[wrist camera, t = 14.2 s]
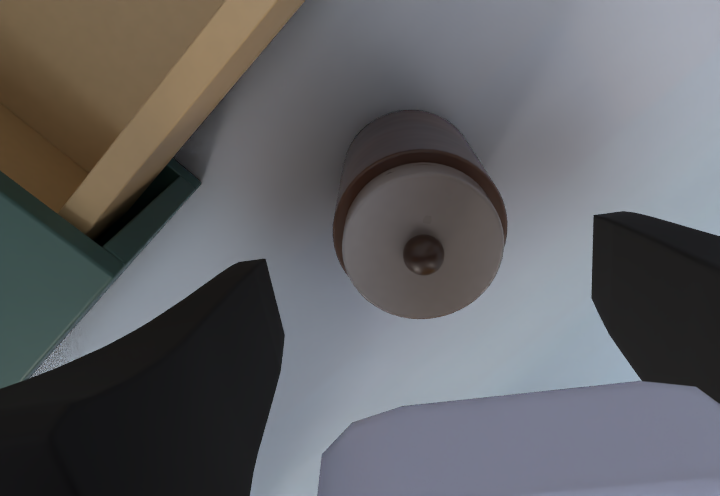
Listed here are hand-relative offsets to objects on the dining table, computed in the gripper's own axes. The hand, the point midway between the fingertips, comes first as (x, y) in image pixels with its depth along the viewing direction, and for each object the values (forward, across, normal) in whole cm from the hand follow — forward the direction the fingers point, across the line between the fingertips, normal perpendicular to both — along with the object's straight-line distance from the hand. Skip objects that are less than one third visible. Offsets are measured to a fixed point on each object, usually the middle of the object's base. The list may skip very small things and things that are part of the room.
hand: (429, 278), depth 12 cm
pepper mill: (+8, 0, 0) cm, 8 cm away
